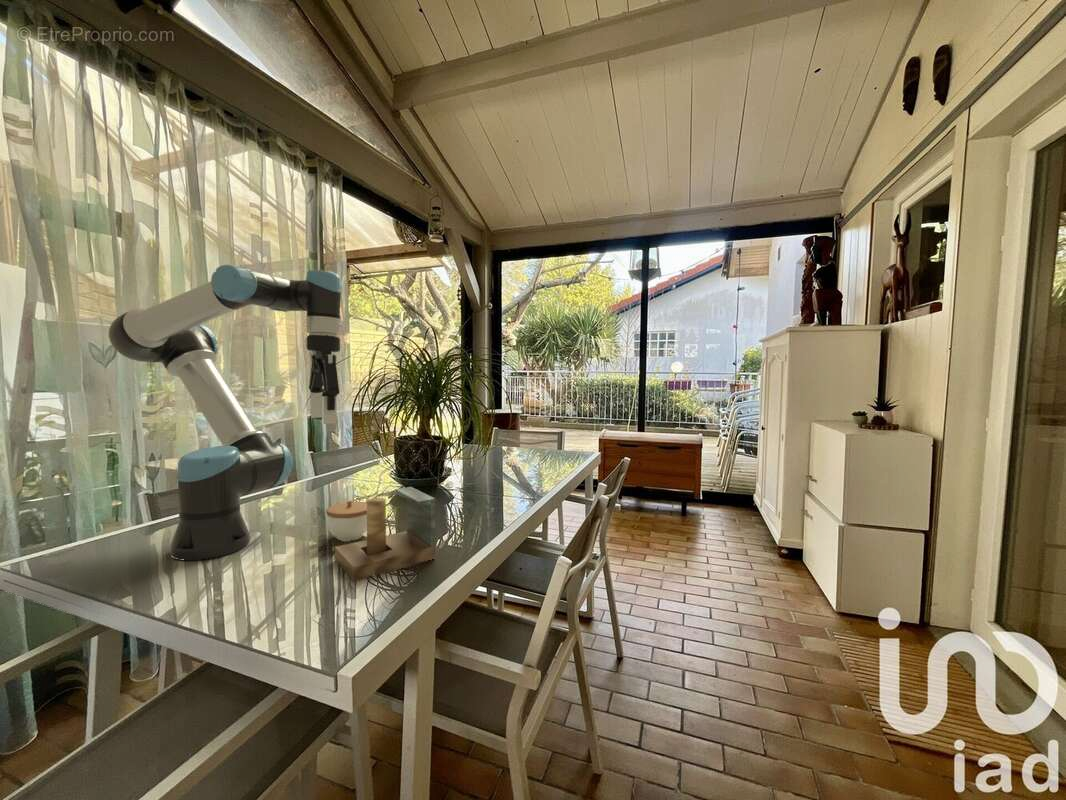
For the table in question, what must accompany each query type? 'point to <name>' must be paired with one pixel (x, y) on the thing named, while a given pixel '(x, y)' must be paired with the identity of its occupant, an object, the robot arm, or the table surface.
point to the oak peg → (376, 526)
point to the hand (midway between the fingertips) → (322, 420)
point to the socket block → (395, 541)
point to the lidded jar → (347, 520)
